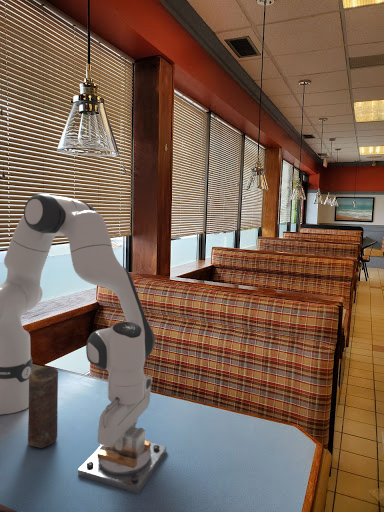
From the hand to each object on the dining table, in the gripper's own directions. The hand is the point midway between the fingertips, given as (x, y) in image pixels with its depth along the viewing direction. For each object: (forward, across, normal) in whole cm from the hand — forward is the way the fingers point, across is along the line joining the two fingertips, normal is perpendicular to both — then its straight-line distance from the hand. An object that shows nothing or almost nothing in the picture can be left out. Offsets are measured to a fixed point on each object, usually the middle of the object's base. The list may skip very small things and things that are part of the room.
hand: (125, 441), depth 95 cm
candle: (+6, -1, +24) cm, 25 cm away
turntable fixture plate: (+6, 0, 0) cm, 6 cm away
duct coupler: (+2, 0, 0) cm, 2 cm away
